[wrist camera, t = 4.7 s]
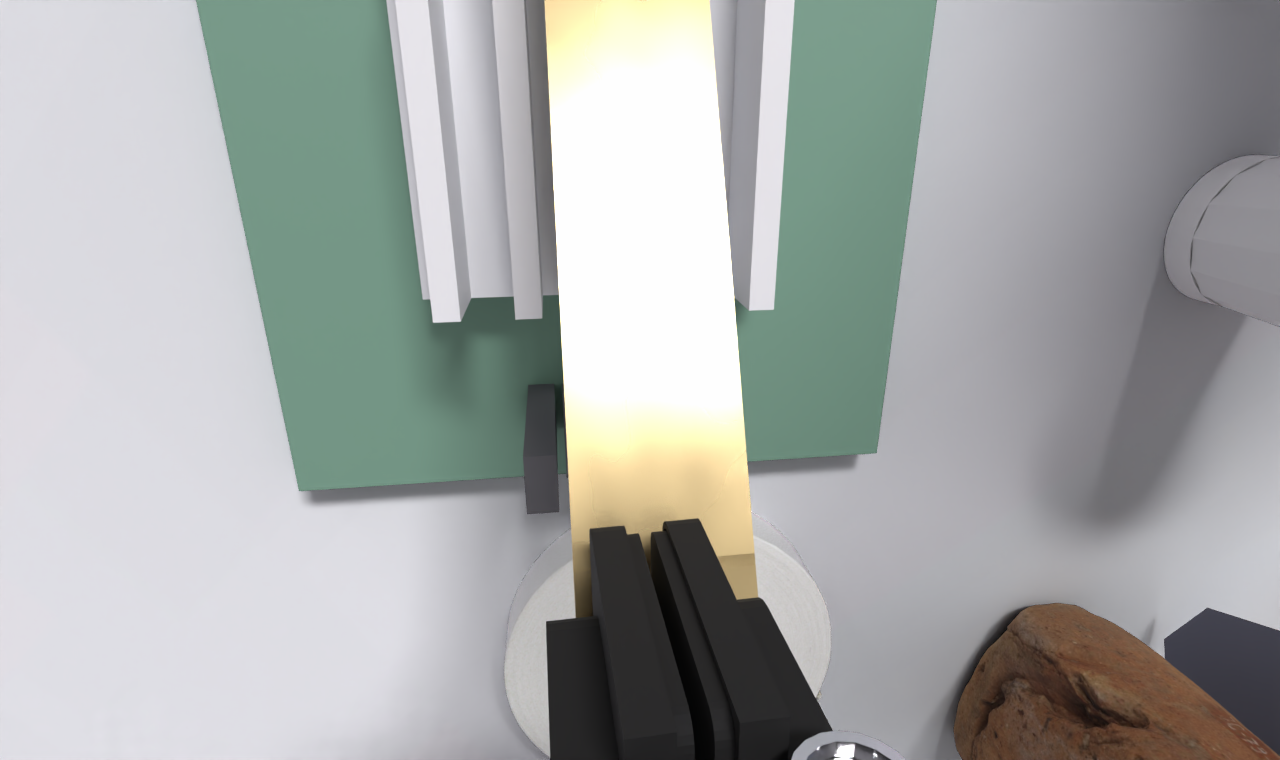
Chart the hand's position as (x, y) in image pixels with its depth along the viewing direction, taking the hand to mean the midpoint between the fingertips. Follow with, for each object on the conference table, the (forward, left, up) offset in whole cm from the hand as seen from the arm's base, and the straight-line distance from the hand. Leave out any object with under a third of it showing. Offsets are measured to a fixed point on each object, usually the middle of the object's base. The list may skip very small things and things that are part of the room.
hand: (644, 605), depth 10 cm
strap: (-9, 0, -7) cm, 11 cm away
